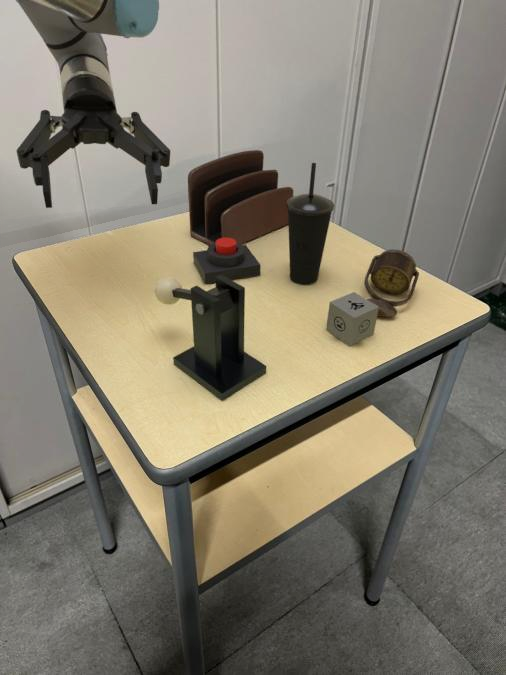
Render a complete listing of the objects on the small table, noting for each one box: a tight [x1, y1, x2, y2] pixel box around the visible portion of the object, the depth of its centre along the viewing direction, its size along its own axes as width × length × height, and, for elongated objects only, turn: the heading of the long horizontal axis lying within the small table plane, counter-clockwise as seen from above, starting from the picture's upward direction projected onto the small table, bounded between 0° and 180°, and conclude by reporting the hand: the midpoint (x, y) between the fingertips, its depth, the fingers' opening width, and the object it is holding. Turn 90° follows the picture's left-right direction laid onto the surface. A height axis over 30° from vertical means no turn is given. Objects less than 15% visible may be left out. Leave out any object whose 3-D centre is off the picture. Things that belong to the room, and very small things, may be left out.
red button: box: [216, 238, 236, 255], centre depth 90 cm, size 4×4×2 cm
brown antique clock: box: [363, 249, 420, 318], centre depth 84 cm, size 7×13×10 cm
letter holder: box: [187, 149, 294, 246], centre depth 102 cm, size 10×20×14 cm, turn 135°
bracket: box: [172, 275, 267, 401], centre depth 67 cm, size 10×8×13 cm
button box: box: [192, 242, 261, 285], centre depth 91 cm, size 10×8×4 cm
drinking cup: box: [286, 162, 335, 286], centre depth 85 cm, size 8×8×20 cm
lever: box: [154, 276, 234, 313], centre depth 68 cm, size 14×4×4 cm, turn 44°
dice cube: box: [325, 291, 379, 347], centre depth 76 cm, size 5×5×5 cm
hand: (102, 198), depth 68 cm, fingers open, 13 cm apart
